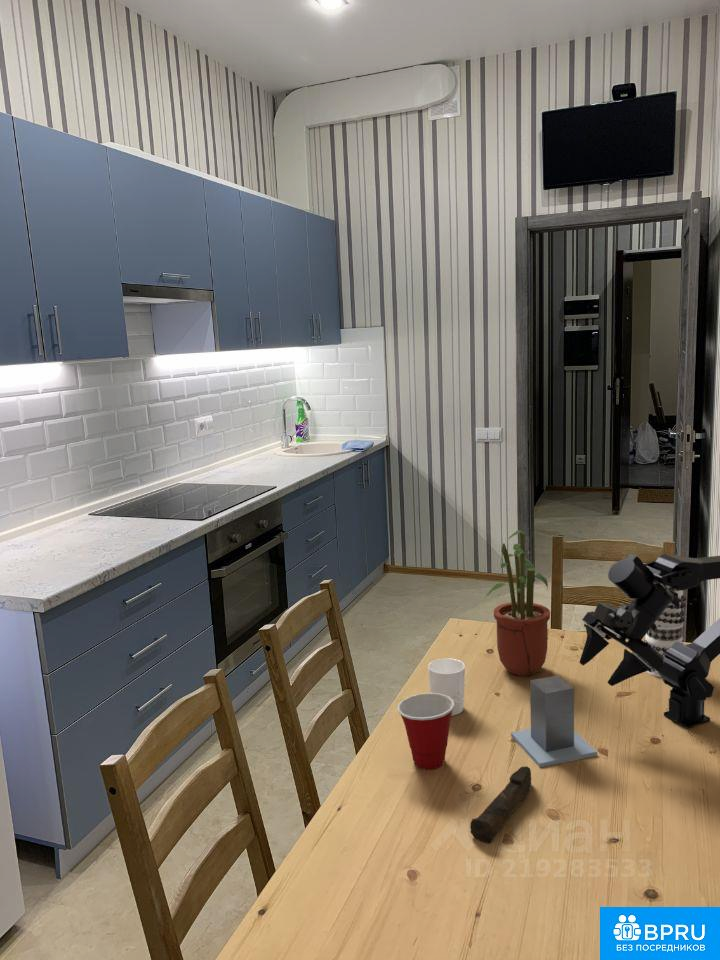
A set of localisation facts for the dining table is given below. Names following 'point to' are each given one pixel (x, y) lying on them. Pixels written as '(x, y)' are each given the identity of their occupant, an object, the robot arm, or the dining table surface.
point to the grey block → (552, 713)
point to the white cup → (448, 680)
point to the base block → (556, 756)
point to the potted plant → (521, 617)
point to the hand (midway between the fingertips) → (594, 674)
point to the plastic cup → (427, 727)
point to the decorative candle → (667, 627)
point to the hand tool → (502, 806)
